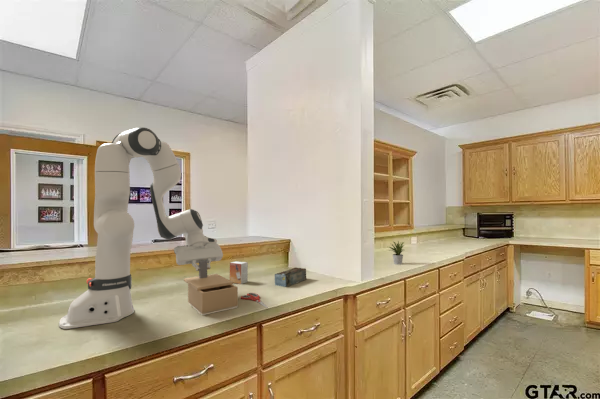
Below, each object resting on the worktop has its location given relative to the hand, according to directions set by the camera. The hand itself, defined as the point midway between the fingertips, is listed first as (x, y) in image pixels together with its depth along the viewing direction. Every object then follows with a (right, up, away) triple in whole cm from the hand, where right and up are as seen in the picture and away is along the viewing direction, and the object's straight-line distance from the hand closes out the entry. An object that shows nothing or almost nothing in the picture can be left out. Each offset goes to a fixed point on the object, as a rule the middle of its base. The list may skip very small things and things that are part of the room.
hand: (203, 269), depth 129 cm
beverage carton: (+37, -14, +28) cm, 48 cm away
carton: (+6, -12, -9) cm, 17 cm away
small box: (+9, -14, +28) cm, 33 cm away
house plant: (+111, -15, +79) cm, 137 cm away
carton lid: (+3, -5, -4) cm, 7 cm away
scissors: (+25, -13, -4) cm, 28 cm away
